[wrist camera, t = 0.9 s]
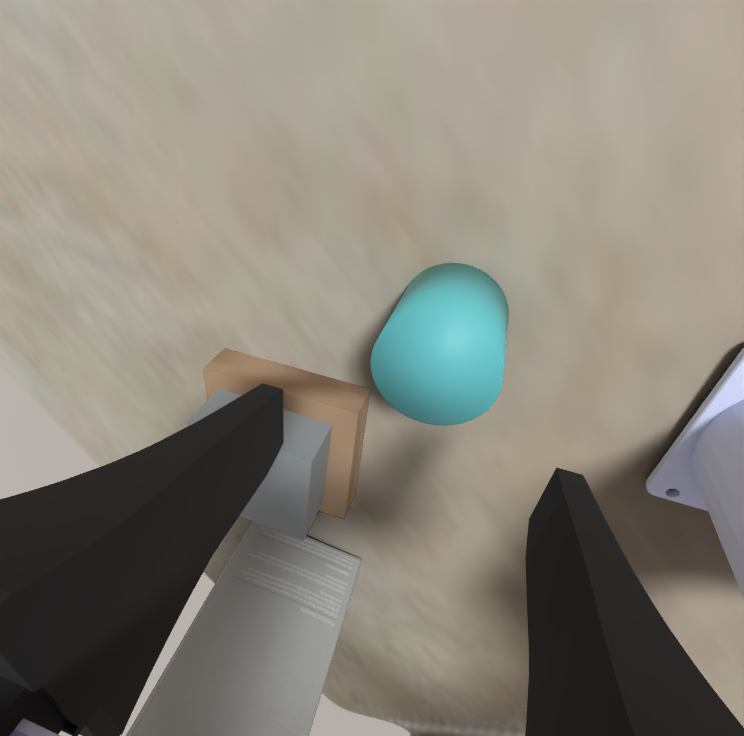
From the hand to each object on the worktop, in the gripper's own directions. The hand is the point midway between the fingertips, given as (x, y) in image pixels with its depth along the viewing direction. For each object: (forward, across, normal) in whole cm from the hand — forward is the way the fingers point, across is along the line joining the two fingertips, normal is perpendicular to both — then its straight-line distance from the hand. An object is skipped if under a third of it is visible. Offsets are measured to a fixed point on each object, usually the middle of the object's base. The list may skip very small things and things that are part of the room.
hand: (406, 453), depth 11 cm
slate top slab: (+6, +7, +9) cm, 13 cm away
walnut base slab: (+9, +7, +9) cm, 14 cm away
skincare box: (+8, +6, +22) cm, 24 cm away
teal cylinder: (+8, 0, 0) cm, 8 cm away
